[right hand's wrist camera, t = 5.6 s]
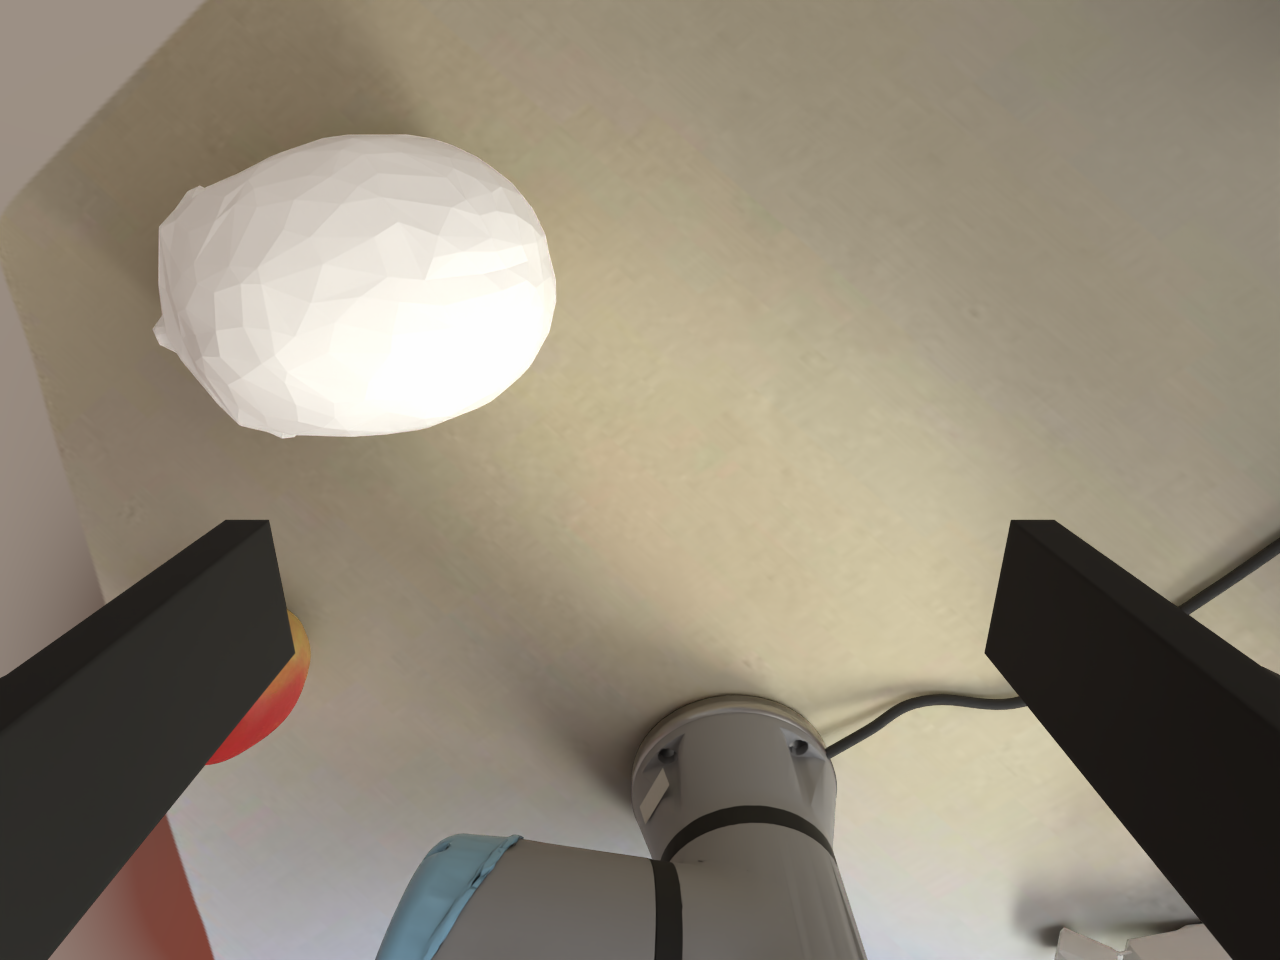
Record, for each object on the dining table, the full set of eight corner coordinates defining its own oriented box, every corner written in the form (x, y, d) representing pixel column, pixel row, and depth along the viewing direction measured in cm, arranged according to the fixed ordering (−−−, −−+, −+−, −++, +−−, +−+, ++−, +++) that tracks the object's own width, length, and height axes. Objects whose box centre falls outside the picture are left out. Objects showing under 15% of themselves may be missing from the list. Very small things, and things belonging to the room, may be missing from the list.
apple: (340, 688, 51) (271, 793, 41) (207, 680, 50) (108, 784, 41) (329, 570, 47) (252, 655, 38) (187, 561, 47) (75, 644, 38)
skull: (157, 222, 40) (-124, 235, 25) (523, 112, 38) (454, 56, 23) (263, 437, 44) (80, 554, 30) (592, 349, 43) (571, 427, 28)
